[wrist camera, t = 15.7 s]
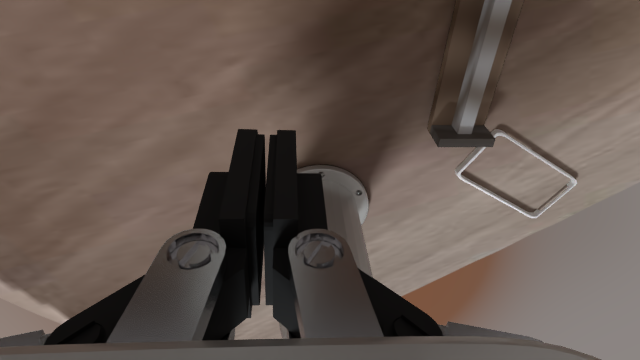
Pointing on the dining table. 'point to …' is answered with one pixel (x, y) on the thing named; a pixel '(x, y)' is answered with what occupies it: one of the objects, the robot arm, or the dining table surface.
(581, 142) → the dining table surface
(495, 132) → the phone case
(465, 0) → the rail base
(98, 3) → the dining table surface
